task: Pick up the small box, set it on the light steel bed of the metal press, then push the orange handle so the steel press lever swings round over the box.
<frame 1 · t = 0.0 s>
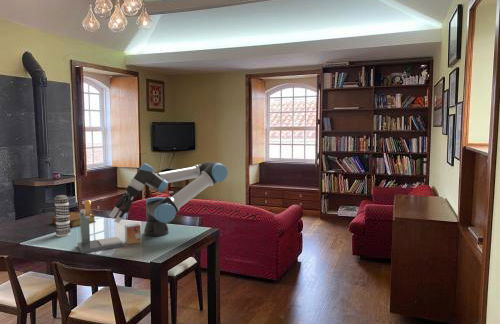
hand: (113, 219, 222), 15 cm above the table, tool tilted 35°, fingers open, 13 cm apart
decorative candle: (63, 234, 248), on the table
small box: (133, 242, 230), on the table
press lever: (85, 207, 215), point 24 cm above the table, hinge at 0.0°
press: (100, 246, 223), on the table
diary: (74, 223, 278), on the table
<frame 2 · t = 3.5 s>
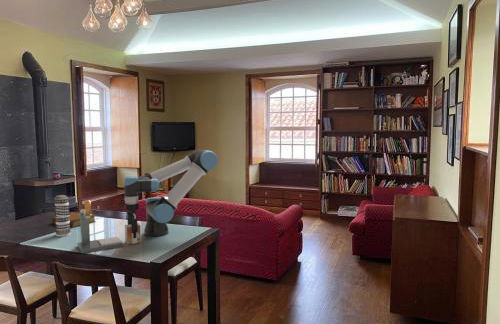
hand: (133, 241, 230), 0 cm above the table, tool pointing down, fingers closed on small box, 6 cm apart
small box: (133, 242, 230), on the table, touching gripper
everything else where it was.
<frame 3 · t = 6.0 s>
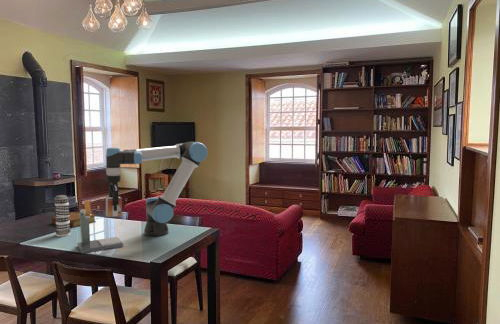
hand: (113, 215, 224), 18 cm above the table, tool pointing down, fingers closed on small box, 6 cm apart
small box: (113, 216, 224), point 17 cm above the table, touching gripper
everything else where it was.
when the fingers open (5 cm above the table, at t = 8.8 s): small box drops 1 cm, resting on press.
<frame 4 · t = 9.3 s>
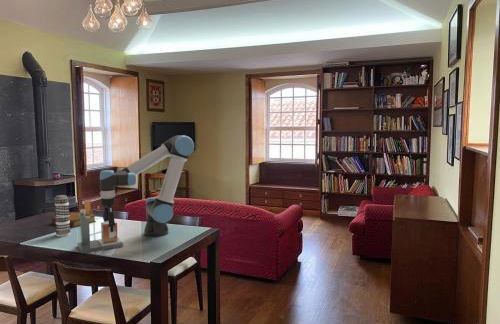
hand: (109, 234, 224), 6 cm above the table, tool pointing down, fingers open, 12 cm apart
small box: (109, 240, 224), point 3 cm above the table, touching press
everything else where it was.
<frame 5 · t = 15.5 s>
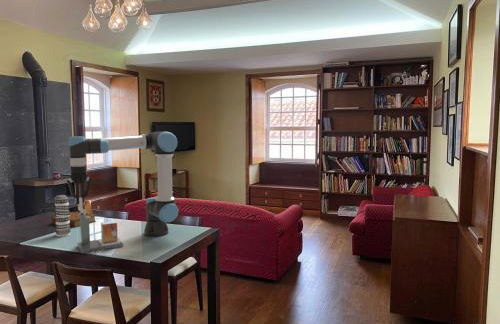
hand: (80, 210, 207), 24 cm above the table, tool pointing down, fingers closed
press lever: (85, 207, 215), point 24 cm above the table, hinge at 0.5°, touching gripper
everything else where it was.
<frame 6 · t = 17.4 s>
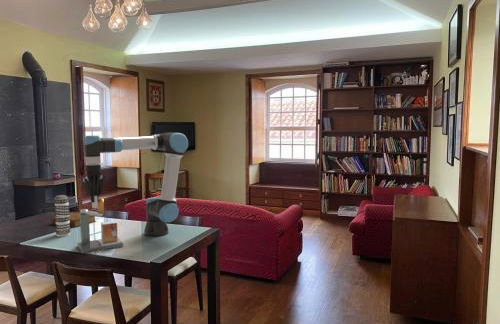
hand: (94, 207, 211), 24 cm above the table, tool pointing down, fingers closed
press lever: (91, 206, 218), point 24 cm above the table, hinge at 29.7°, touching gripper
everything else where it was.
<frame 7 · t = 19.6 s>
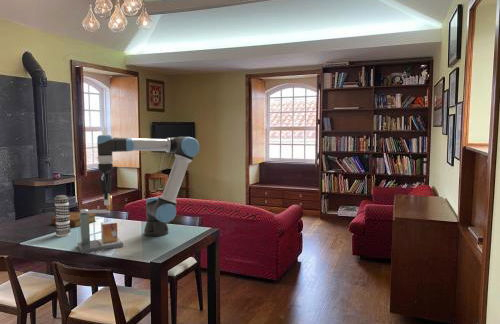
hand: (107, 204, 219), 24 cm above the table, tool pointing down, fingers closed
press lever: (96, 204, 222), point 24 cm above the table, hinge at 64.1°, touching gripper
everything else where it was.
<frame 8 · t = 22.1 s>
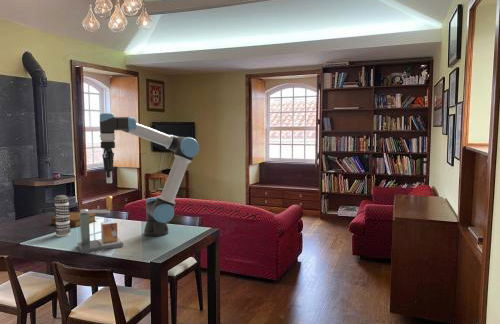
hand: (109, 182, 221), 36 cm above the table, tool pointing down, fingers closed
press lever: (96, 204, 222), point 24 cm above the table, hinge at 64.6°
everything else where it was.
at the end: small box inside the target area on the press (0.0 cm from its centre), point 2.8 cm above the press's base; small box tilted 0°; press lever at +65° (first picture: +0°) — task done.
